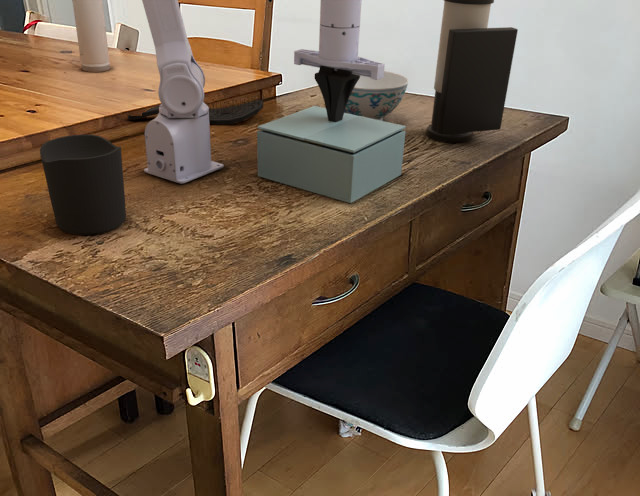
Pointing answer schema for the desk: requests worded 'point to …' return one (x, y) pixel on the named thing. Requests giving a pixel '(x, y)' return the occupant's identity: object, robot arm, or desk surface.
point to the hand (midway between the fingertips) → (335, 120)
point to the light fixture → (470, 72)
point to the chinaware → (376, 96)
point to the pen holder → (85, 183)
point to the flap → (303, 123)
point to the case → (335, 158)
